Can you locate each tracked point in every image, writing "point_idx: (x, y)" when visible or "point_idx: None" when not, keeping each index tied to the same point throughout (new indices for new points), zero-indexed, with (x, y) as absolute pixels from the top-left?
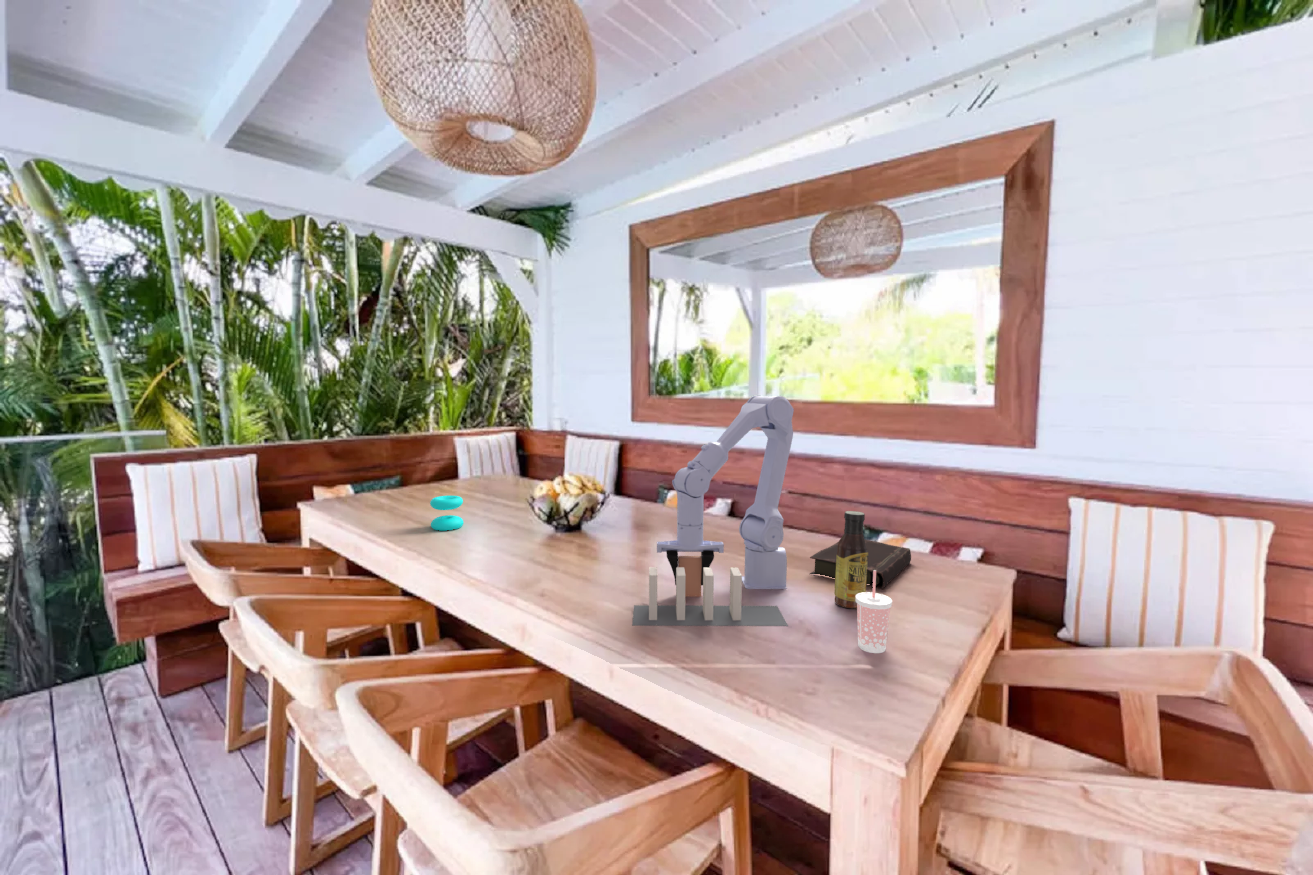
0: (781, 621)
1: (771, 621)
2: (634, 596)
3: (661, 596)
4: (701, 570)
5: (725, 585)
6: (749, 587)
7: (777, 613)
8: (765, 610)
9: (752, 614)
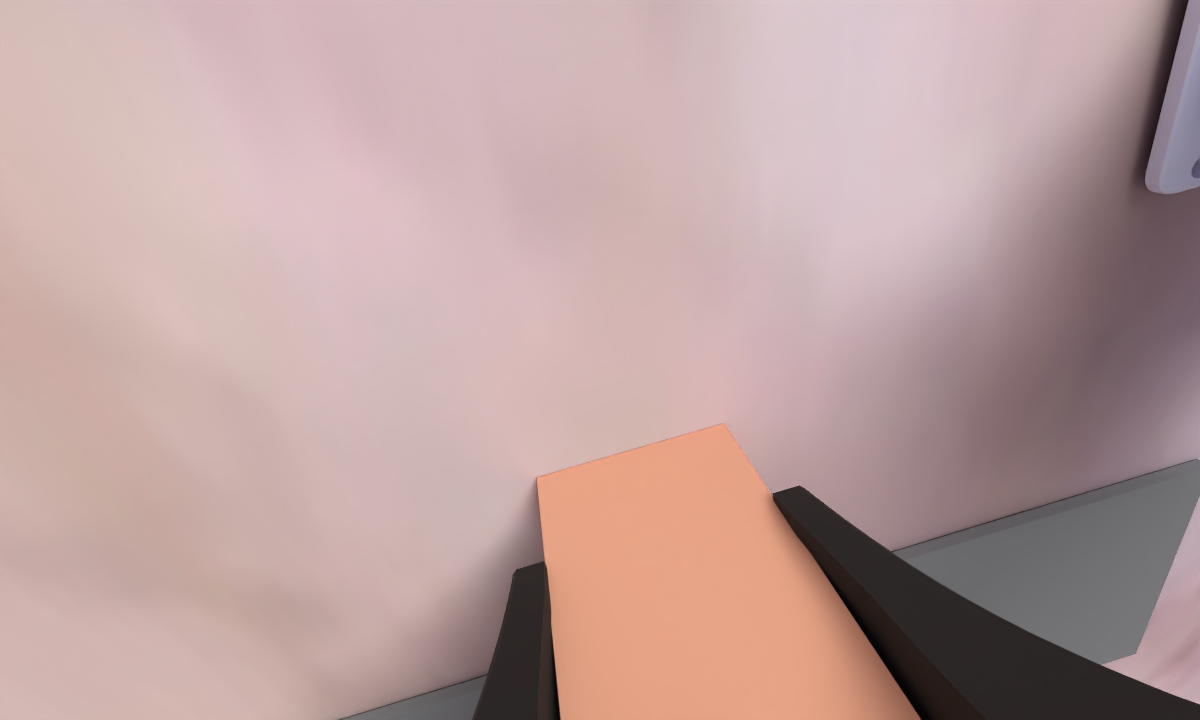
0: (1128, 627)
1: (1081, 644)
2: (173, 602)
3: (404, 533)
4: (858, 622)
5: (980, 86)
6: (1196, 178)
7: (1156, 558)
8: (1110, 546)
9: (1019, 611)
